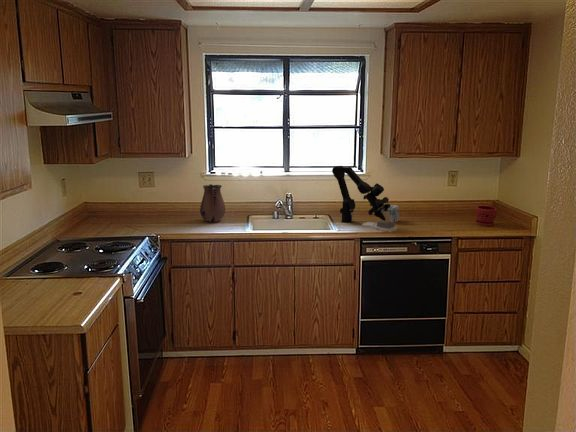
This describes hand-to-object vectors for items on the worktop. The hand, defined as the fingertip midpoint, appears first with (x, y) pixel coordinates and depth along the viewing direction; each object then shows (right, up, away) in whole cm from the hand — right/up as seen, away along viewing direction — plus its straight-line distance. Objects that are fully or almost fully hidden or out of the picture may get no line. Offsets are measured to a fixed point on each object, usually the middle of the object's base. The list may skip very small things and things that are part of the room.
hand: (386, 219), depth 321 cm
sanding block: (-1, -5, +2) cm, 5 cm away
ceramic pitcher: (-116, -2, +25) cm, 118 cm away
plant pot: (+69, -4, +13) cm, 70 cm away
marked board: (-4, -5, +5) cm, 9 cm away
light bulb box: (+7, -2, +23) cm, 24 cm away
